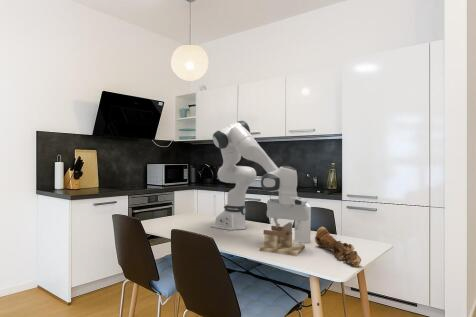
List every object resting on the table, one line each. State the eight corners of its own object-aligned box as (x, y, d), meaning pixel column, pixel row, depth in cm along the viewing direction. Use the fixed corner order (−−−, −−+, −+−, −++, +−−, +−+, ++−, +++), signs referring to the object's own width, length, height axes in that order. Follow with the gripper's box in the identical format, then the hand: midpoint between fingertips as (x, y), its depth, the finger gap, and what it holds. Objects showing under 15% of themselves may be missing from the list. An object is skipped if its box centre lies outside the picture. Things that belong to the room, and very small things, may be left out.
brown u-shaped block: (263, 234, 155) (263, 224, 155) (271, 229, 167) (272, 220, 167) (284, 236, 151) (284, 227, 151) (291, 231, 163) (292, 222, 163)
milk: (294, 240, 175) (294, 199, 176) (303, 239, 178) (303, 199, 179) (301, 243, 170) (302, 201, 170) (310, 242, 173) (311, 200, 173)
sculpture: (322, 255, 166) (353, 272, 131) (308, 233, 166) (335, 243, 132) (336, 245, 167) (370, 259, 132) (321, 223, 168) (351, 231, 133)
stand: (259, 250, 154) (259, 232, 154) (270, 243, 169) (270, 226, 169) (296, 255, 147) (297, 236, 147) (304, 247, 162) (305, 230, 162)
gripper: (265, 199, 159) (264, 227, 159) (307, 202, 150) (306, 232, 150) (269, 197, 164) (268, 225, 164) (309, 200, 156) (309, 229, 156)
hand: (287, 228), depth 157 cm, fingers open, 8 cm apart
